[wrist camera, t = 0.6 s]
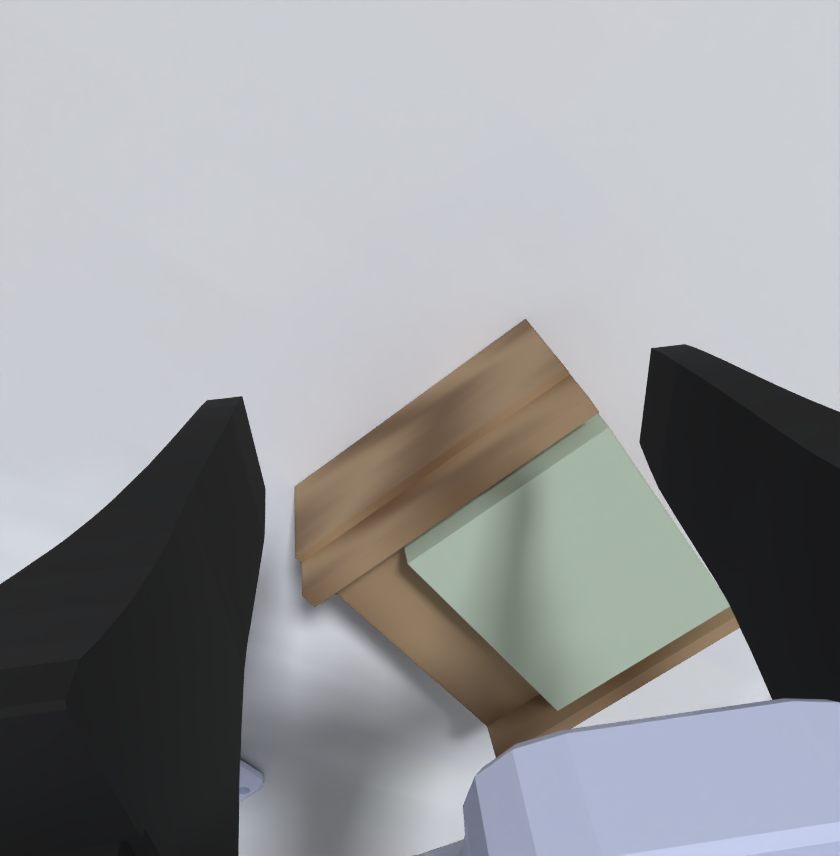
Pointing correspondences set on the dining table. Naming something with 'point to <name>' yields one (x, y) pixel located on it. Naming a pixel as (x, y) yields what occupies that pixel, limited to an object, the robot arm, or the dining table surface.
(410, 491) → the walnut box
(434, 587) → the cover plate
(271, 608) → the dining table surface
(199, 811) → the robot arm
